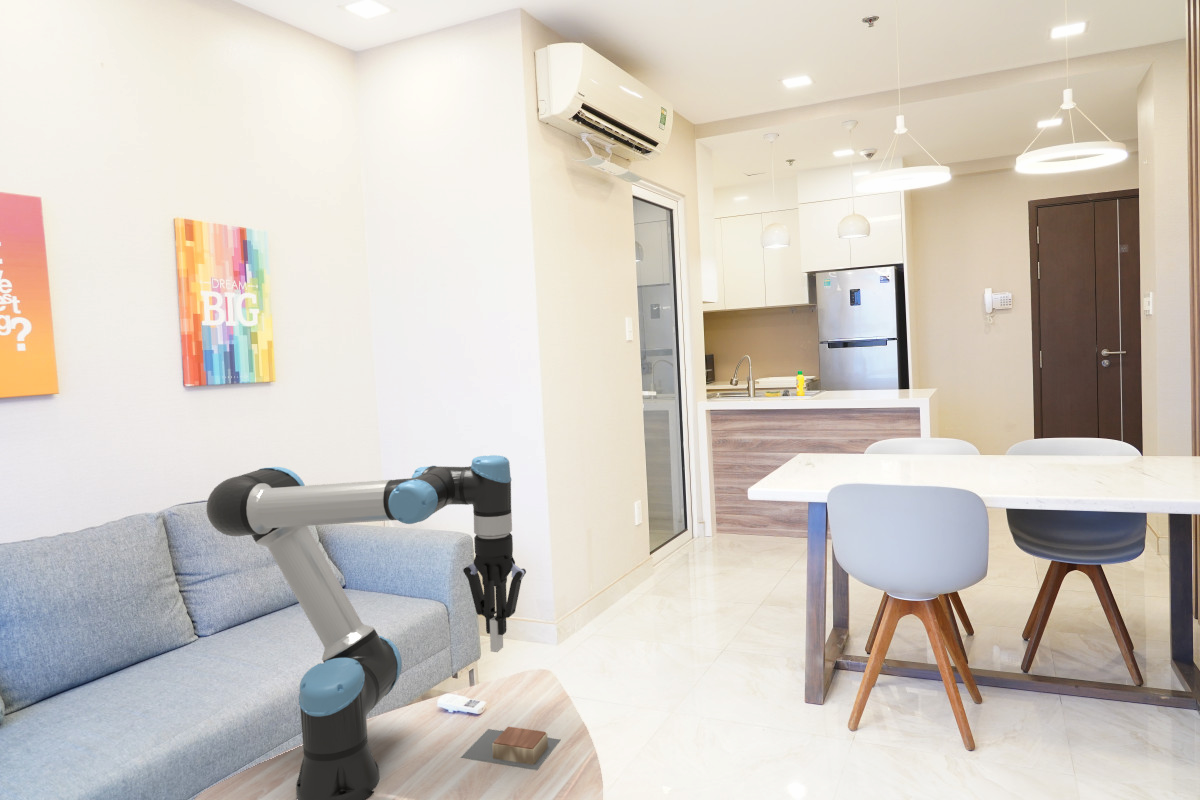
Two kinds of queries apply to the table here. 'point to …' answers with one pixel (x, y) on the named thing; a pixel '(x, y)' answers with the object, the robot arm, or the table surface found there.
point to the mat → (485, 753)
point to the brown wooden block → (520, 745)
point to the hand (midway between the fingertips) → (496, 649)
